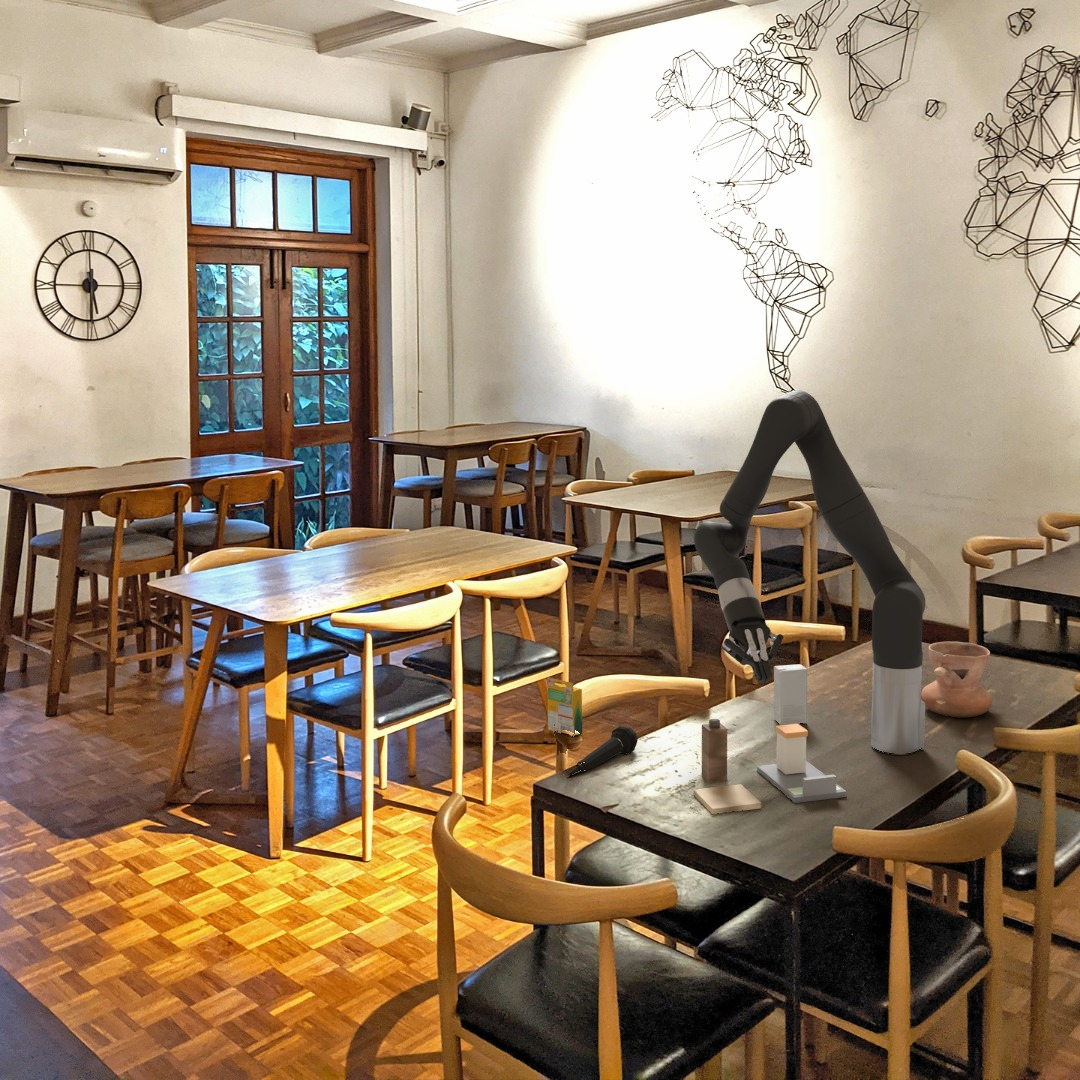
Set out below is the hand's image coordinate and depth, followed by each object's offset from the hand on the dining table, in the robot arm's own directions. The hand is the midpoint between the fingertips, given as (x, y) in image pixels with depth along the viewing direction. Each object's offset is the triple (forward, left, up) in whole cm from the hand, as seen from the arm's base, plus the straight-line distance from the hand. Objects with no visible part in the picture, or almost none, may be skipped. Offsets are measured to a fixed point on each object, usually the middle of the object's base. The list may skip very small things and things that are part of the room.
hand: (765, 680), depth 229 cm
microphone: (+32, -6, -15) cm, 36 cm away
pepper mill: (+14, +9, -15) cm, 22 cm away
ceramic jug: (-50, -12, -15) cm, 54 cm away
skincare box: (-13, -16, -15) cm, 26 cm away
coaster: (+16, +20, -15) cm, 30 cm away
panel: (0, +16, -15) cm, 22 cm away
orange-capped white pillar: (0, +12, -14) cm, 18 cm away
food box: (+34, -24, -15) cm, 44 cm away
